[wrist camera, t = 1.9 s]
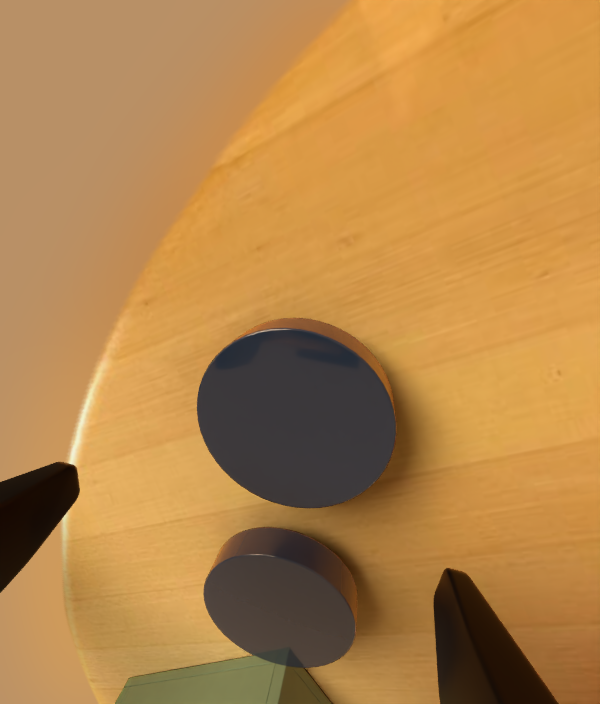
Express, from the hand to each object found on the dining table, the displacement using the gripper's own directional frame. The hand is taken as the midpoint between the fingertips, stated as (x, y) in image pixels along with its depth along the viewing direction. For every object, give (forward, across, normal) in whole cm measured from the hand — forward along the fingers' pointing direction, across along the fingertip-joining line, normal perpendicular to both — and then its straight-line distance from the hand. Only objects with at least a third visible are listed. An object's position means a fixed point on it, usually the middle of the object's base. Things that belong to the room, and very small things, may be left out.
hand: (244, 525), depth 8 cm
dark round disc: (+7, 0, 0) cm, 7 cm away
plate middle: (+7, -1, +10) cm, 12 cm away
